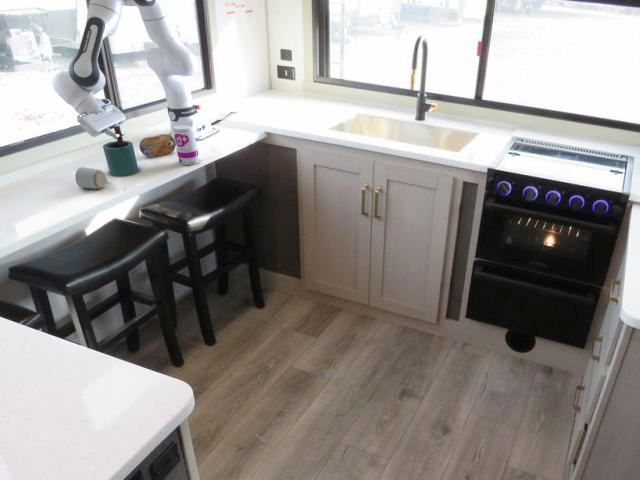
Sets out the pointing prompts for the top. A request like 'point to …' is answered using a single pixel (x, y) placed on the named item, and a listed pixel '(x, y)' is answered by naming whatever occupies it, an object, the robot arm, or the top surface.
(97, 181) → the ceramic mug
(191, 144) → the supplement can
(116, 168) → the teal pen holder
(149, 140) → the tin
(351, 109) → the top surface
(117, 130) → the dish brush
